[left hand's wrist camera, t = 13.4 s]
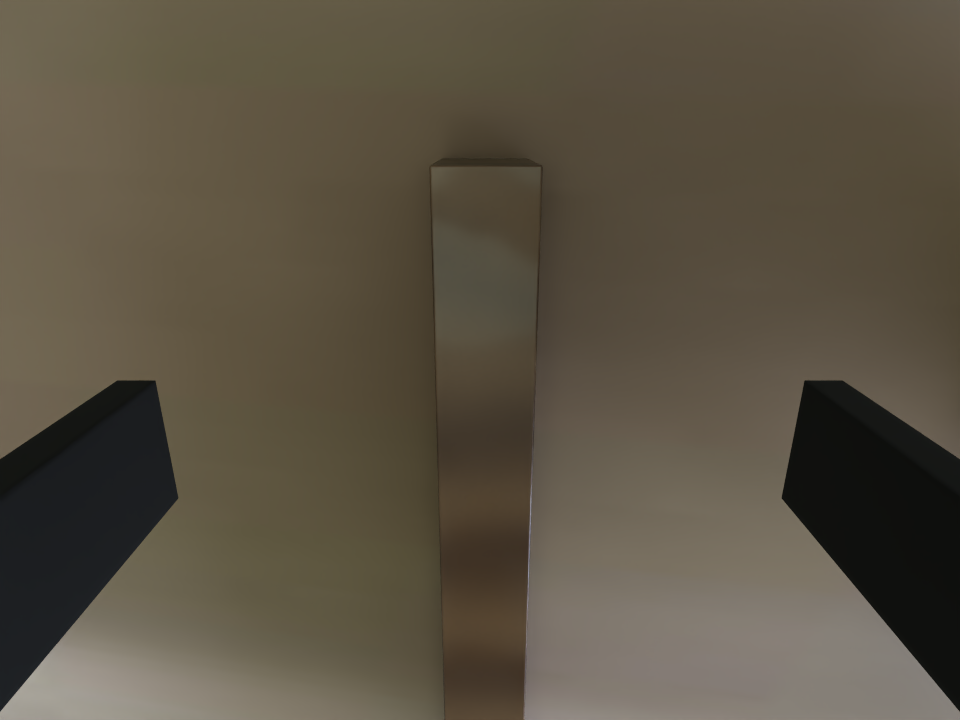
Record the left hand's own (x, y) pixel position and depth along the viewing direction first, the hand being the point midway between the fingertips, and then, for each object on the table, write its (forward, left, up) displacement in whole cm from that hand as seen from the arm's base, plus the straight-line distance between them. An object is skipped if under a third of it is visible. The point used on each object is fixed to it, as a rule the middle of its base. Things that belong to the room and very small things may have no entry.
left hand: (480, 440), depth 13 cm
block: (-23, +10, -25) cm, 35 cm away
